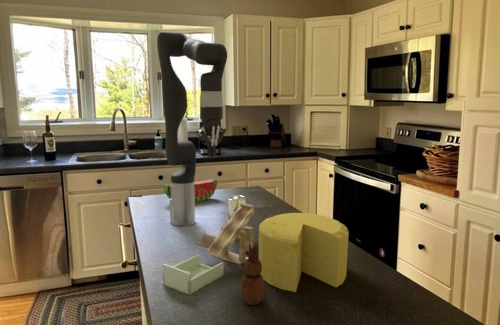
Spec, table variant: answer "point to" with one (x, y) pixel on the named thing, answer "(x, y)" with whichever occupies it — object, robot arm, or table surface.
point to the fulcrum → (241, 246)
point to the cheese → (302, 249)
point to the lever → (228, 232)
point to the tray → (182, 279)
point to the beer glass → (234, 206)
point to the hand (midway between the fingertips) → (211, 156)
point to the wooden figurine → (252, 280)
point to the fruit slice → (198, 189)
